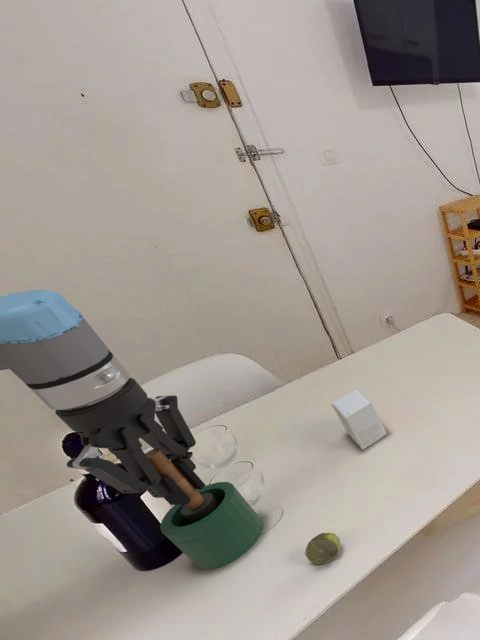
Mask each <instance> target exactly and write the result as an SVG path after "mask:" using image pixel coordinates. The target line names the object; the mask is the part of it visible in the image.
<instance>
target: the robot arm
mask: <svg viewBox="0 0 480 640" xmlns="http://www.w3.org/2000/svg"><path fill="white" fill-rule="evenodd" d="M2 370H3V371H4V370H10V371H11V372H12V373H13V374H14V375H15V376H16V377H17V378H18V379H20V381H22V382H23V383H24V384H25V385H26V386H27V387H28V388H29V389H30V390H31V391H32V392H33V393H34V394H35V395H36V397H38V398H39V400H41V401H42V402H43V403H44V404H45V405H46V407H48V408H49V409H50V410H53V411H54V412H55V415H56V416H57V417H58V418H59V419H60V420H61V421H62V422H63V423H64V424H65V425H66V426H67V427H69V429H70V430H71V431H72V432H74V433H76V432H84V433H77V434H78V435H79V436H80V443H81V445H82V446H83V449H82V450H81V451H80V453H79V455H78V456H77V457H74V458H71V459H68V461H67V462H66V467H67V468H69V469H77V470H84V471H86V472H87V473H89V474H90V475H91V476H94V477H95V478H97V479H99V480H100V481H102V482H104V483H105V484H107V485H108V486H110V487H112V488H113V489H115V490H117V491H118V492H119V493H122V494H139V493H145V492H146V491H147V492H148V494H150V495H151V496H152V497H153V498H156V499H164V500H165V501H166V502H167V503H168V504H169V505H170V506H174V505H183V504H188V503H189V502H190V501H191V499H190V498H189V497H188V496H187V495H186V494H185V493H184V492H183V490H182V489H181V488H180V487H179V486H178V485H177V484H176V483H175V482H174V481H173V480H172V479H171V478H170V476H169V475H164V476H160V475H159V474H158V472H157V471H156V469H155V468H154V466H153V465H152V463H151V462H150V461H149V459H148V458H147V456H146V455H145V453H146V452H144V451H143V449H142V447H143V443H142V442H141V441H140V439H141V440H142V441H143V442H145V443H146V444H147V445H148V446H149V447H151V448H152V450H153V449H156V448H159V449H160V450H161V451H162V452H163V453H164V454H165V455H166V456H167V458H168V459H169V460H170V461H171V462H172V463H173V464H174V465H175V466H176V468H177V469H178V470H179V471H180V472H181V473H182V474H183V475H184V477H185V478H186V479H187V480H188V481H189V482H190V483H191V484H192V485H193V487H194V488H195V489H196V490H198V489H203V488H204V487H205V486H207V485H206V483H205V482H203V480H202V479H201V478H200V477H199V476H198V474H197V473H196V472H195V470H196V469H197V466H196V463H194V461H193V460H192V459H191V458H192V457H193V455H194V454H193V451H189V450H190V449H191V448H193V447H194V446H196V444H197V441H196V439H195V437H194V435H193V433H192V432H191V430H190V427H189V426H188V424H187V422H186V420H185V418H184V417H183V415H182V413H181V410H179V409H180V408H179V401H178V396H177V395H175V394H174V395H173V394H171V395H158V396H156V397H155V398H151V397H148V394H147V392H146V391H145V389H143V387H142V386H141V385H140V384H139V383H138V382H137V380H136V379H135V378H133V377H131V374H130V373H129V371H128V370H127V368H125V367H124V366H123V365H122V363H121V362H120V361H119V360H118V358H117V357H116V356H115V355H114V354H113V352H112V351H111V350H110V348H109V347H108V346H107V344H106V343H105V342H104V341H103V340H102V339H101V337H100V336H99V335H98V334H97V333H96V331H95V329H94V328H92V326H91V325H90V324H89V322H88V321H87V320H86V319H85V317H84V315H83V313H82V312H81V311H80V310H78V309H77V308H75V307H73V305H72V304H71V303H70V302H69V301H68V300H67V299H66V298H65V297H64V296H63V295H62V294H61V293H60V292H58V291H56V290H52V289H31V290H26V291H23V292H14V293H10V294H5V295H1V296H0V371H2ZM155 417H156V418H157V420H158V421H159V423H158V422H157V420H155ZM86 434H87V435H86ZM99 449H107V450H108V451H109V453H110V454H113V455H115V456H116V457H117V459H118V460H119V461H120V463H121V464H122V466H123V467H124V469H123V468H122V467H120V466H119V465H117V464H116V463H114V462H112V461H111V460H109V459H106V458H105V457H106V456H105V454H103V453H102V452H100V450H99ZM73 462H74V463H73ZM75 465H76V466H77V467H76V466H75Z"/></svg>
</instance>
